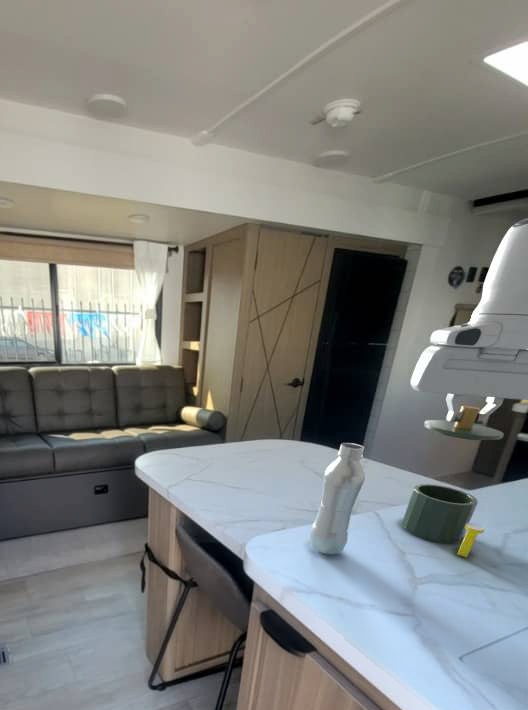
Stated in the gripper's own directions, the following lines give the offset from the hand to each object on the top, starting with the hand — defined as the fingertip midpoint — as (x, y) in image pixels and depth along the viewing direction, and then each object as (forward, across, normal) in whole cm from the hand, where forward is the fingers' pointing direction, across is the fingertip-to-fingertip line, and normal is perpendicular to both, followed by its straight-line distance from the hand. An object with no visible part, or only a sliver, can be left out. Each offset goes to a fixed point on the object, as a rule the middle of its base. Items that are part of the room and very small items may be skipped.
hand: (464, 422), depth 70 cm
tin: (+24, -4, -6) cm, 25 cm away
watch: (+24, -7, +4) cm, 25 cm away
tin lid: (+2, 0, 0) cm, 2 cm away
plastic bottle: (+24, +19, +9) cm, 32 cm away
